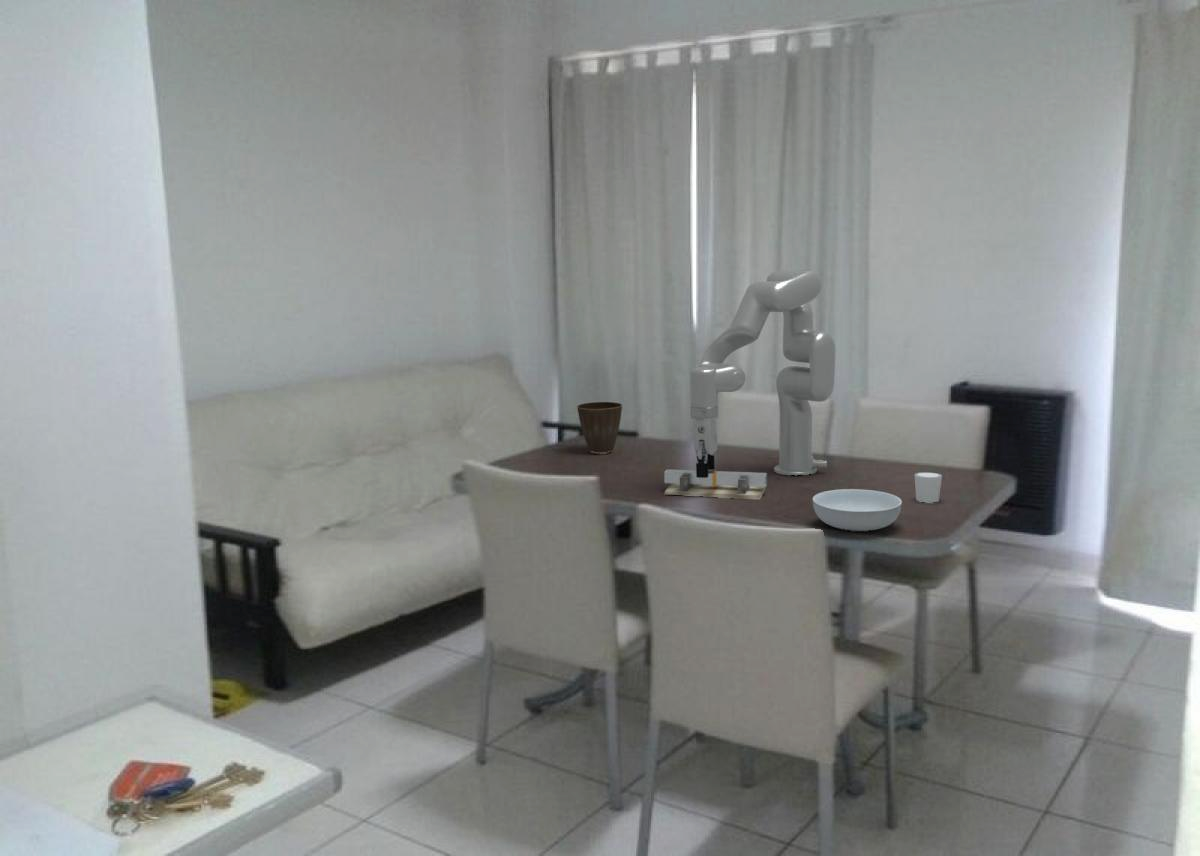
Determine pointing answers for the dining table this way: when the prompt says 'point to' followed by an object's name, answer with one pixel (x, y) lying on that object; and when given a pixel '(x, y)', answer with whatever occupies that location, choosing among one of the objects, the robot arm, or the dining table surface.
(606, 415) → the plant pot
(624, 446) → the dining table surface
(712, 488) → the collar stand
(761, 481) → the white banded bar
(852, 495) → the serving bowl
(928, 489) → the white cup
